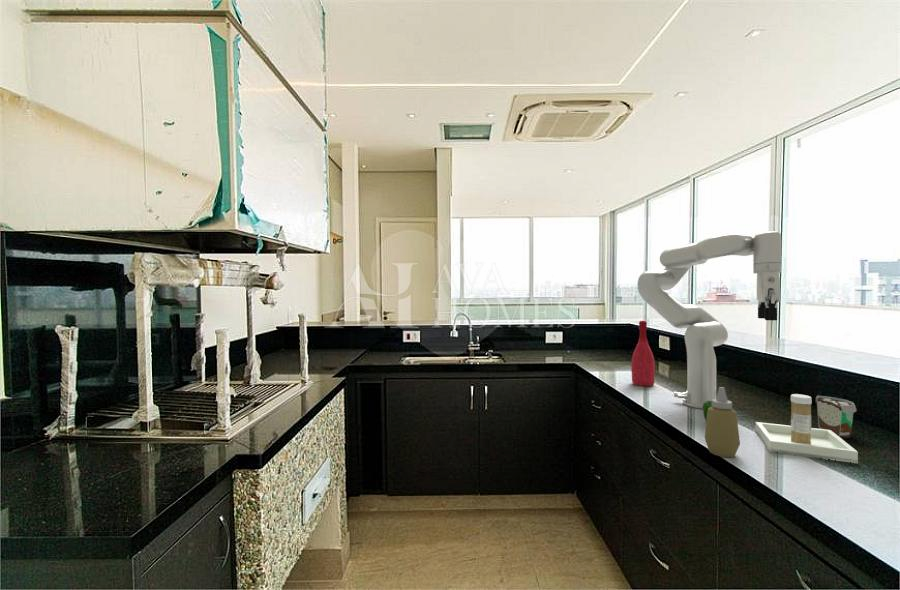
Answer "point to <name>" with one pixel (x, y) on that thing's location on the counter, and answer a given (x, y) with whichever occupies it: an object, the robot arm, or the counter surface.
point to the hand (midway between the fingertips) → (767, 319)
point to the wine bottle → (643, 360)
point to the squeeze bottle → (722, 427)
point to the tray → (821, 444)
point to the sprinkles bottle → (801, 418)
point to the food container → (835, 415)
